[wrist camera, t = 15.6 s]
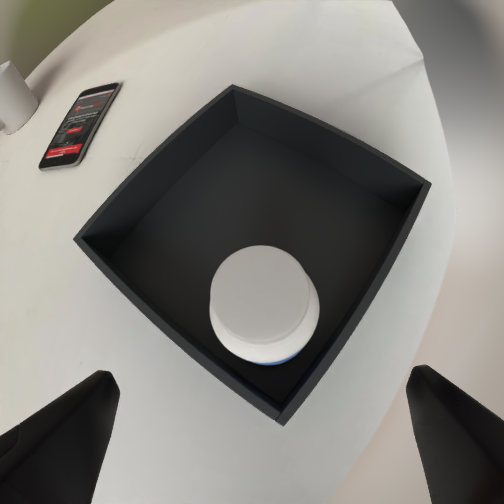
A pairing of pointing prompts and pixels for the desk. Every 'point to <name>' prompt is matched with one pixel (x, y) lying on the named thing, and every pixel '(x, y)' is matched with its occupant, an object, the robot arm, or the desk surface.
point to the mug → (14, 99)
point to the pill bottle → (263, 305)
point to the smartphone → (78, 128)
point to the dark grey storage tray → (255, 231)
